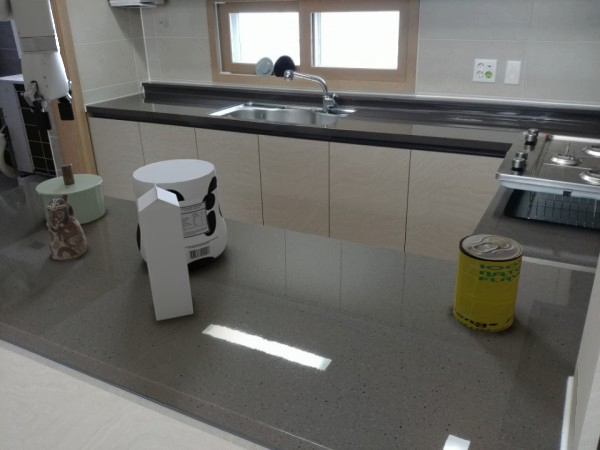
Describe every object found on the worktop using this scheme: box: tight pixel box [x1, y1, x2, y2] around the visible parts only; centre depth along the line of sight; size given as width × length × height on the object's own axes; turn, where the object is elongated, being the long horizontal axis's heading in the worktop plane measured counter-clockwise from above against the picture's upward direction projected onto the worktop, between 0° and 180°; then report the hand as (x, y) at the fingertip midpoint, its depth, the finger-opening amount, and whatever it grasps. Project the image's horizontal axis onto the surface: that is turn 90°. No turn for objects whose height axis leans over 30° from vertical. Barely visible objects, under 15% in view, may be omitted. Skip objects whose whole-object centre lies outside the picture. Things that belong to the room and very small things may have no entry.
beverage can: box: [452, 233, 524, 333], centre depth 82 cm, size 9×9×12 cm
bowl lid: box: [35, 163, 104, 196], centre depth 126 cm, size 15×15×6 cm
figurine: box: [45, 194, 88, 261], centre depth 108 cm, size 7×7×12 cm
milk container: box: [131, 158, 228, 270], centre depth 103 cm, size 17×17×18 cm
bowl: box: [38, 184, 106, 225], centre depth 129 cm, size 14×14×8 cm
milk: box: [137, 178, 194, 322], centre depth 85 cm, size 6×6×22 cm
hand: (56, 124), depth 121 cm, fingers open, 9 cm apart
